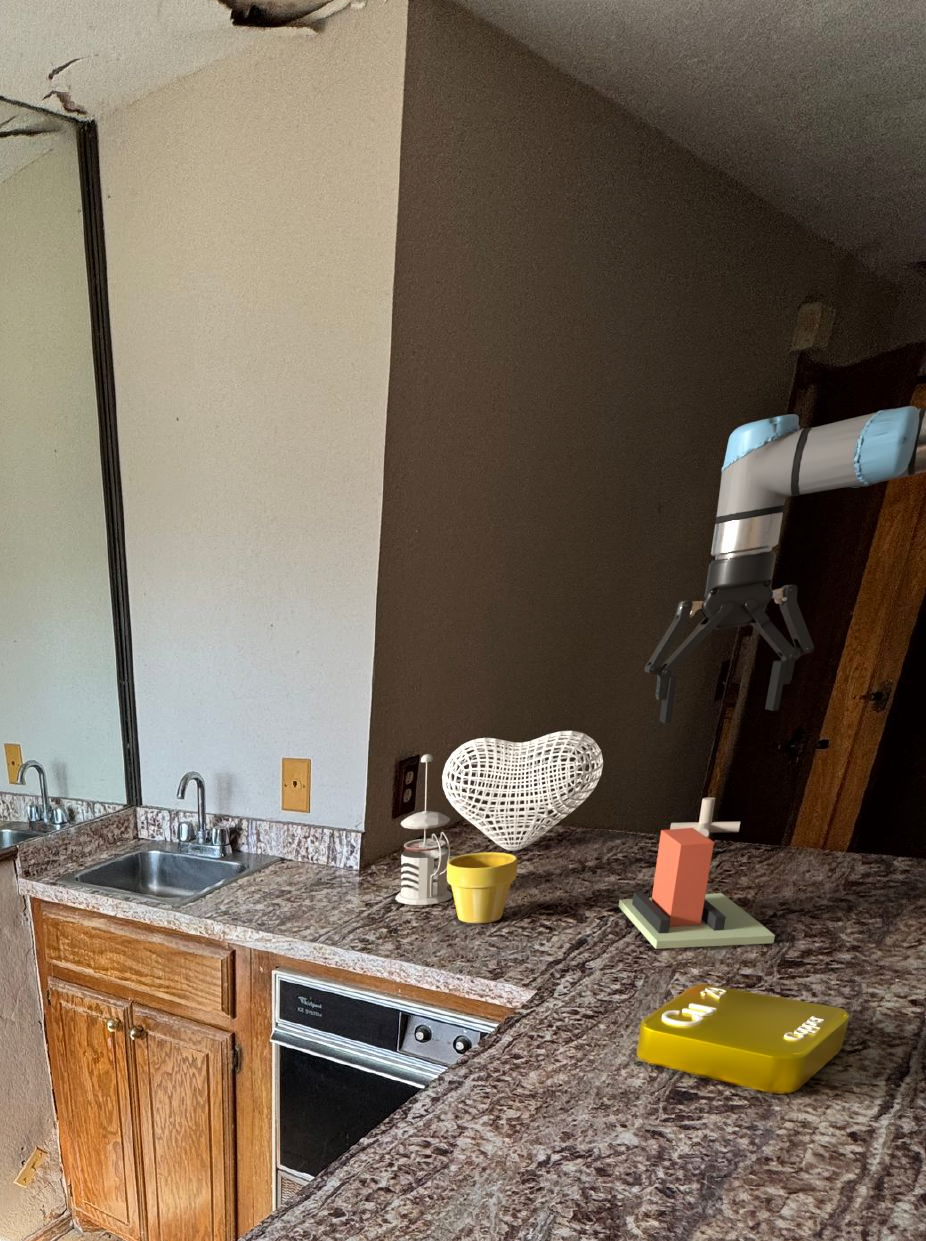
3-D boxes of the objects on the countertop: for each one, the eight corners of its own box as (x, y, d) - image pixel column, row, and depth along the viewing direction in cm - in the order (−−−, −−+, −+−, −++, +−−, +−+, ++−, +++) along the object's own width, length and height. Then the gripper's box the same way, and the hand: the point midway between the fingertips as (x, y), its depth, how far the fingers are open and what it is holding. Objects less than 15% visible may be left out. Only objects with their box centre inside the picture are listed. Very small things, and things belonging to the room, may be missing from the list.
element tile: (789, 1099, 87) (799, 1056, 85) (628, 1059, 99) (633, 1020, 96) (847, 1046, 94) (858, 1005, 92) (690, 1014, 106) (696, 977, 104)
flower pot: (448, 908, 153) (450, 852, 149) (515, 907, 148) (519, 849, 144) (442, 927, 145) (444, 869, 141) (512, 927, 140) (516, 867, 136)
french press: (434, 885, 165) (438, 746, 155) (469, 900, 155) (476, 752, 144) (385, 895, 165) (385, 756, 154) (417, 910, 154) (420, 763, 143)
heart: (594, 838, 177) (606, 721, 168) (593, 858, 166) (607, 734, 156) (445, 843, 191) (448, 735, 181) (434, 862, 179) (438, 748, 169)
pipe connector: (664, 862, 157) (672, 805, 153) (669, 848, 164) (676, 793, 160) (733, 862, 151) (743, 803, 147) (735, 847, 158) (745, 791, 154)
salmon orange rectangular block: (680, 906, 134) (692, 827, 129) (700, 925, 126) (714, 842, 121) (650, 908, 135) (661, 830, 130) (668, 927, 128) (680, 844, 122)
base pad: (720, 900, 137) (724, 880, 136) (773, 943, 120) (778, 921, 119) (618, 906, 141) (620, 887, 140) (655, 949, 124) (658, 927, 123)
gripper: (839, 537, 122) (806, 701, 131) (632, 571, 129) (616, 723, 139) (866, 534, 115) (830, 706, 125) (647, 570, 123) (628, 729, 132)
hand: (717, 716), depth 132 cm, fingers open, 13 cm apart
